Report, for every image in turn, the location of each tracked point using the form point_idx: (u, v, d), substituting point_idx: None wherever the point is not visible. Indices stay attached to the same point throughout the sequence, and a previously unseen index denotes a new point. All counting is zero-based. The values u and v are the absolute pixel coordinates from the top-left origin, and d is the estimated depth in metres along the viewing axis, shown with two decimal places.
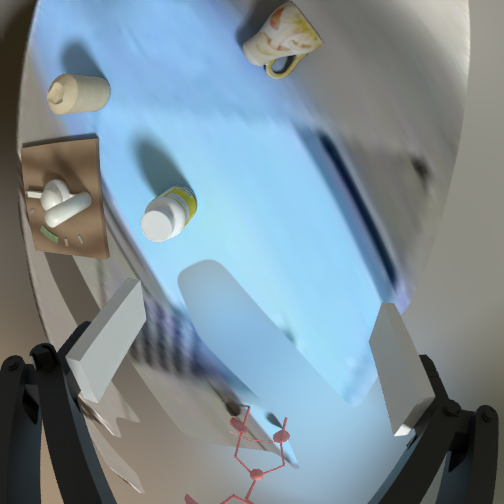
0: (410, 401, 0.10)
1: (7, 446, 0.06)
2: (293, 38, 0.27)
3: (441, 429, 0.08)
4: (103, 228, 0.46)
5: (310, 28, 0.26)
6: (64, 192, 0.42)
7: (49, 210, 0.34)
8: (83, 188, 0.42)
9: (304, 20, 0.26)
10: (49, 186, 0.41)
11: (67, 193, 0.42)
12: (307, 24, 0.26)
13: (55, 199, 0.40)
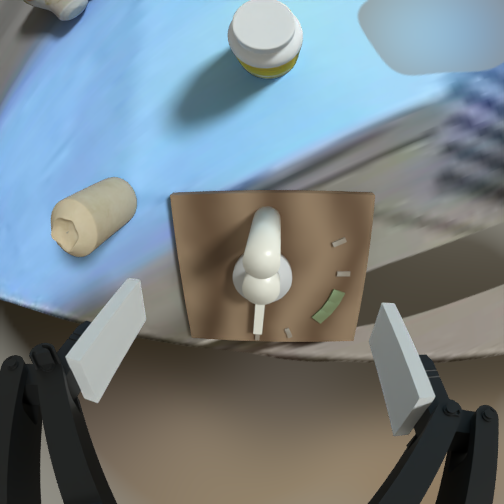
0: (410, 401, 0.10)
1: (7, 446, 0.06)
2: None
3: (441, 429, 0.08)
4: (320, 192, 0.28)
5: None
6: None
7: (244, 262, 0.21)
8: (249, 221, 0.30)
9: None
10: None
11: None
12: None
13: None
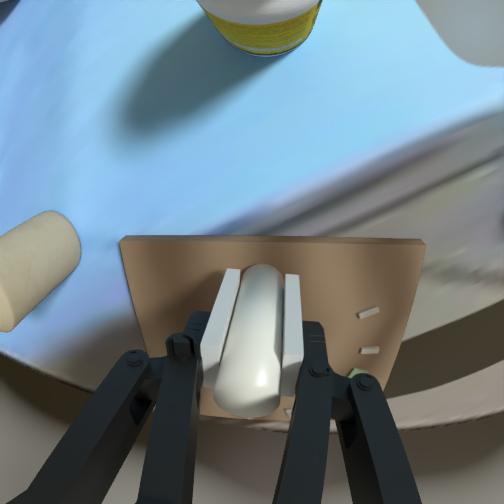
0: (283, 359, 0.12)
1: (93, 445, 0.07)
2: None
3: (315, 392, 0.10)
4: (346, 241, 0.18)
5: None
6: None
7: (217, 397, 0.11)
8: None
9: None
10: None
11: None
12: None
13: None
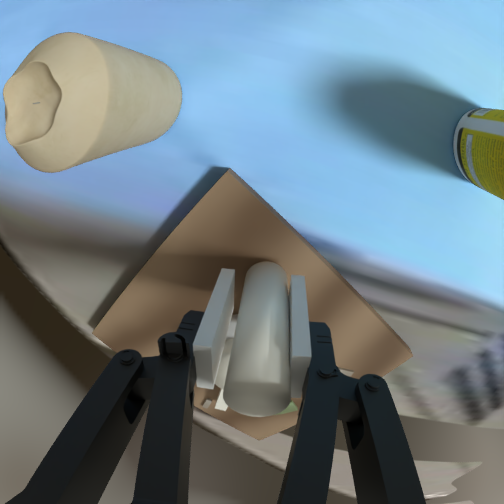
0: (290, 360, 0.12)
1: (88, 444, 0.07)
2: None
3: (322, 393, 0.10)
4: (380, 319, 0.20)
5: None
6: (231, 329, 0.20)
7: (226, 393, 0.11)
8: None
9: None
10: None
11: None
12: None
13: None
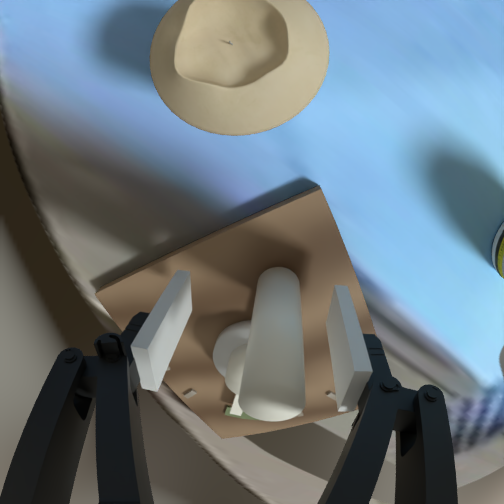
0: (349, 375, 0.11)
1: (47, 441, 0.07)
2: None
3: (382, 406, 0.09)
4: None
5: None
6: (245, 335, 0.20)
7: (242, 399, 0.11)
8: (323, 312, 0.20)
9: None
10: (225, 367, 0.21)
11: None
12: None
13: None
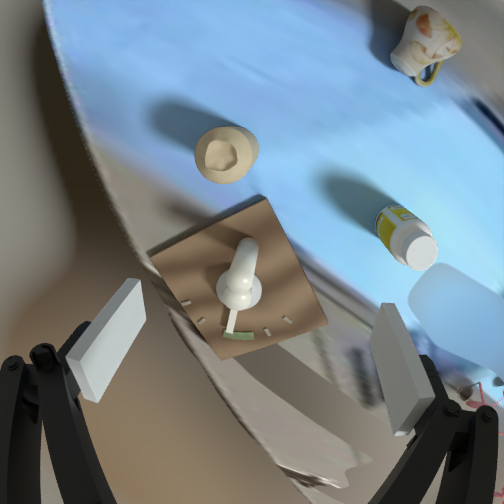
0: (410, 401, 0.10)
1: (7, 446, 0.06)
2: (447, 45, 0.22)
3: (441, 429, 0.08)
4: (314, 294, 0.41)
5: (457, 33, 0.21)
6: None
7: (227, 279, 0.30)
8: (273, 262, 0.40)
9: (451, 26, 0.20)
10: (223, 295, 0.41)
11: None
12: (455, 30, 0.20)
13: None
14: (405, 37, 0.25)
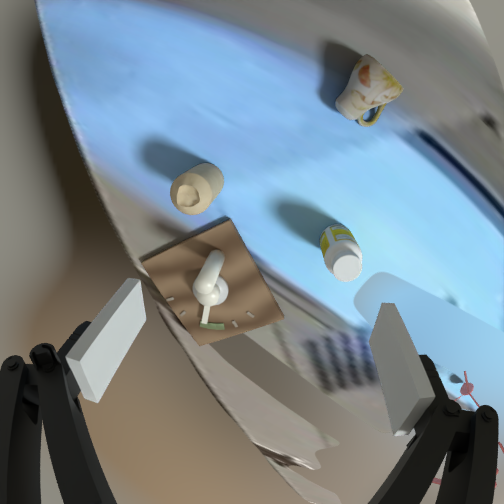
0: (410, 401, 0.10)
1: (7, 446, 0.06)
2: (385, 93, 0.32)
3: (441, 429, 0.08)
4: (271, 294, 0.52)
5: (396, 82, 0.31)
6: None
7: (195, 284, 0.41)
8: (236, 268, 0.50)
9: (390, 75, 0.30)
10: None
11: None
12: (393, 79, 0.30)
13: None
14: (348, 86, 0.34)
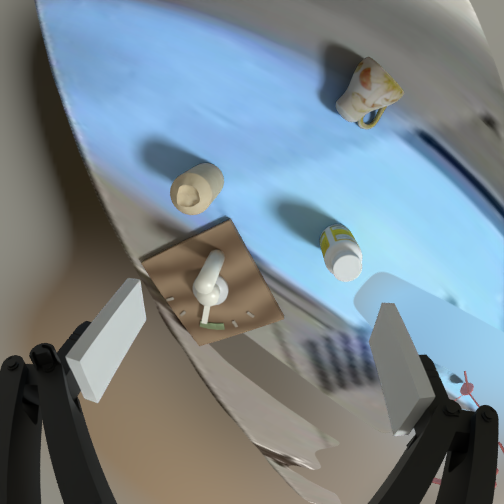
0: (410, 401, 0.10)
1: (7, 446, 0.06)
2: (385, 96, 0.32)
3: (441, 429, 0.08)
4: (271, 294, 0.52)
5: (397, 85, 0.31)
6: None
7: (195, 284, 0.41)
8: (236, 268, 0.50)
9: (391, 79, 0.30)
10: None
11: None
12: (394, 82, 0.30)
13: None
14: (349, 88, 0.35)
